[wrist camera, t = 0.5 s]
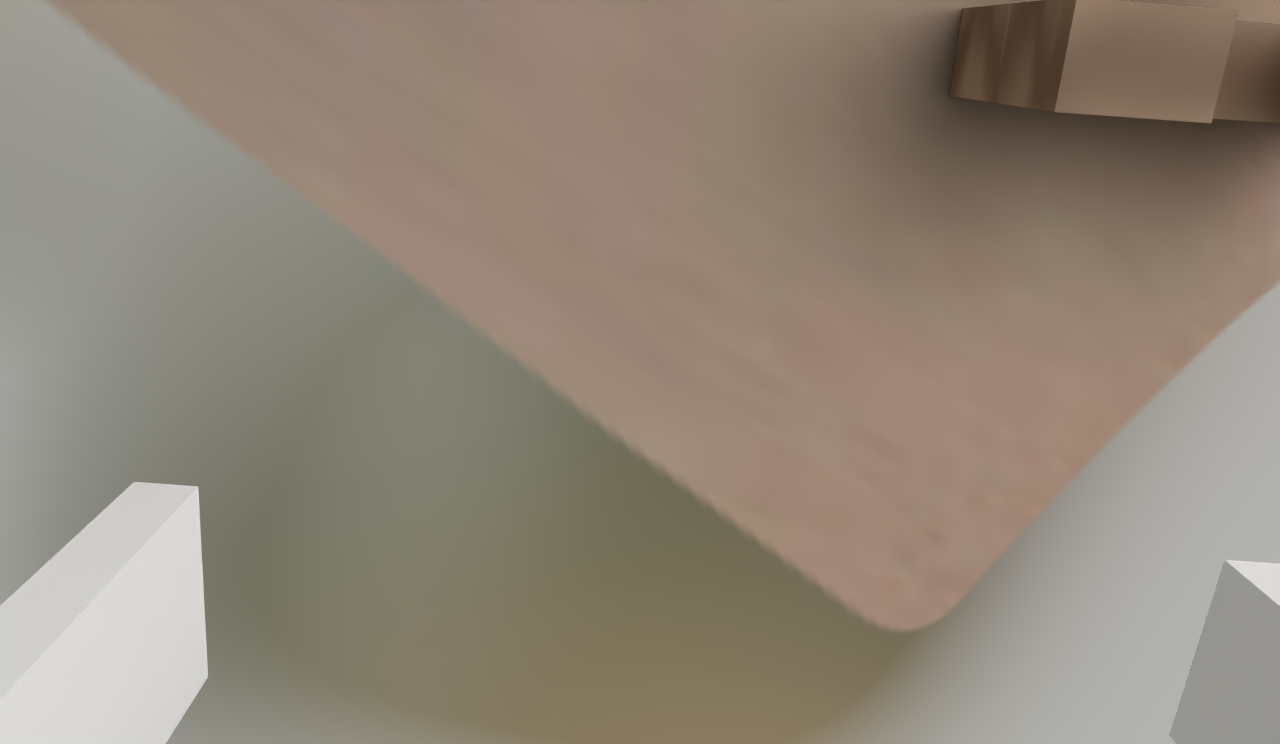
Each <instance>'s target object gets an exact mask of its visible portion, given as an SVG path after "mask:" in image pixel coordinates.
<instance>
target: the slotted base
mask: <svg viewBox="0 0 1280 744" xmlns="http://www.w3.org/2000/svg"><path fill="white" fill-rule="evenodd" d="M1238 12H1239V9H1226V8H1213V7H1200V6H1187V5H1174V4H1161V3H1148V2H1135V1H1123V0H1042V1H1033V2H1023V3H1013V4H1003V5H993V6H983V7H974V8H964V9H963V12H962V18H961V24H960V31H959V37H958V43H957V49H956V55H955V61H954V68H953V74H952V80H951V86H950V92H949V96H952V97H959V98H965V99H972V100H978V101H985V102H992V103H998V104H1005V105H1011V106H1018V107H1024V108H1031V109H1038V110H1044V111H1051V112H1060V113H1075V114H1089V115H1103V116H1117V117H1131V118H1145V119H1159V120H1173V121H1187V122H1201V123H1212V119H1226V120H1240V121H1254V122H1268V123H1280V24H1272V23H1259V22H1246V21H1237V16H1238Z"/></svg>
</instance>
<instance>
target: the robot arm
mask: <svg viewBox="0 0 1280 744" xmlns="http://www.w3.org/2000/svg"><path fill="white" fill-rule="evenodd" d="M200 533H201V532H200V514H199V493H198V486H184V485H169V484H156V483H142V482H134V483H133V484H132V485H130V486H129V487H128V488H127V489H126V490H125V491H124V492H123V493H122V494H121V495H120V496H119V497H117V498H116V499H115V500H114V502H112V503H111V504H110V505H109V506H108V507H107V508H106V509H104V510H103V511H102V512H101V513H100V514H99V515H98V516H97V517H96V518H95V519H94V520H93V521H91V522H90V523H89V524H88V525H87V526H86V527H85V528H84V529H83V530H82V531H81V532H80V533H78V535H76V536H75V537H74V538H73V539H72V540H71V541H70V542H69V543H68V544H67V545H65V546H64V547H63V548H62V549H61V550H60V551H59V552H58V553H57V554H56V555H55V556H54V557H52V558H51V559H50V560H49V561H48V562H47V563H46V564H45V565H44V566H43V567H42V568H41V569H39V571H37V572H36V573H35V574H34V575H33V576H32V577H31V578H30V579H29V580H28V581H26V582H25V583H24V584H23V585H22V586H21V587H20V588H19V589H18V590H17V591H16V592H15V593H14V594H12V595H11V596H10V597H9V598H8V599H7V600H6V601H5V602H4V603H3V604H2V605H1V606H0V744H166V742H167V741H168V739H169V737H170V736H171V734H172V733H173V731H174V730H175V728H176V726H177V725H178V723H179V722H180V720H181V718H182V717H183V715H184V714H185V712H186V711H187V709H188V707H189V706H190V704H191V703H192V701H193V700H194V698H195V696H196V695H197V693H198V692H199V690H200V689H201V687H202V685H203V684H204V682H205V681H206V679H207V678H208V670H207V649H206V630H205V612H204V611H205V610H204V591H203V571H202V554H201V553H202V551H201V534H200ZM1170 736H1171V738H1172V739H1173V740H1174V741H1175V743H1176V744H1280V564H1276V563H1262V562H1247V561H1233V560H1225V561H1224V564H1223V567H1222V570H1221V574H1220V577H1219V580H1218V583H1217V586H1216V590H1215V593H1214V596H1213V599H1212V602H1211V605H1210V609H1209V612H1208V615H1207V618H1206V621H1205V624H1204V628H1203V631H1202V634H1201V637H1200V640H1199V643H1198V647H1197V650H1196V653H1195V656H1194V659H1193V662H1192V665H1191V669H1190V672H1189V675H1188V678H1187V681H1186V685H1185V688H1184V691H1183V694H1182V697H1181V700H1180V704H1179V707H1178V710H1177V713H1176V716H1175V719H1174V723H1173V726H1172V729H1171V732H1170Z"/></svg>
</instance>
